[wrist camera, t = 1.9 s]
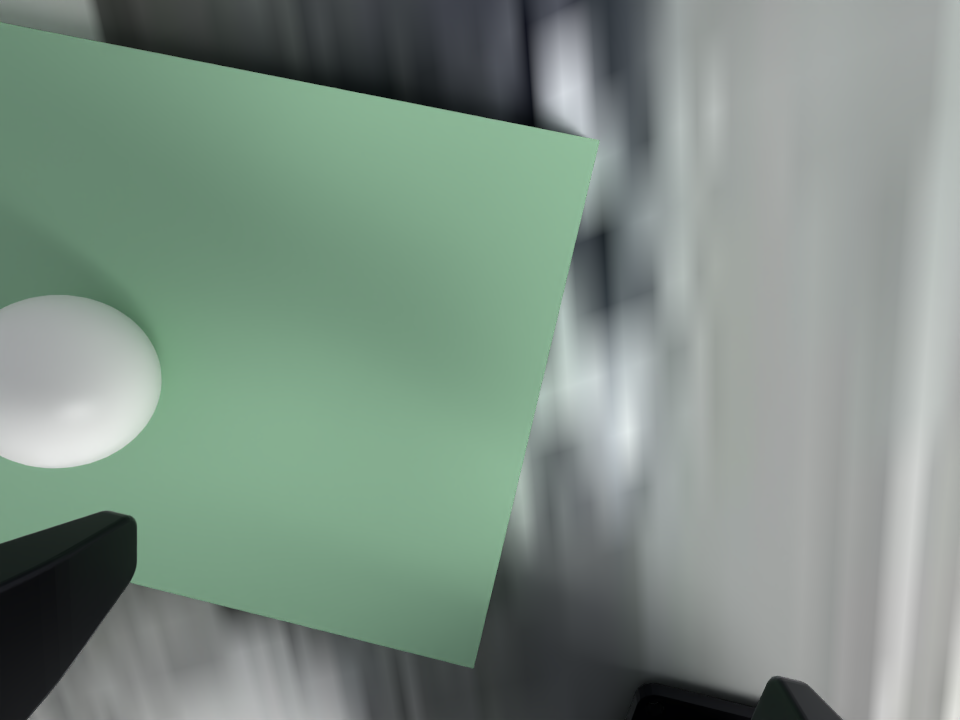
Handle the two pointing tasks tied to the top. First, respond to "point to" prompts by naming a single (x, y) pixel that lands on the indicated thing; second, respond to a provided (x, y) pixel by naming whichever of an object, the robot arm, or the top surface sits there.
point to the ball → (72, 381)
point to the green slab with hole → (294, 326)
